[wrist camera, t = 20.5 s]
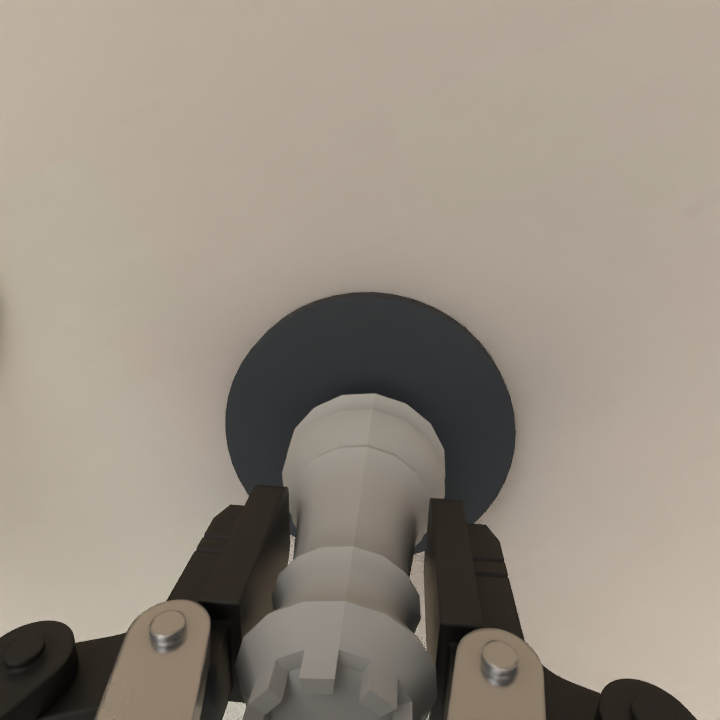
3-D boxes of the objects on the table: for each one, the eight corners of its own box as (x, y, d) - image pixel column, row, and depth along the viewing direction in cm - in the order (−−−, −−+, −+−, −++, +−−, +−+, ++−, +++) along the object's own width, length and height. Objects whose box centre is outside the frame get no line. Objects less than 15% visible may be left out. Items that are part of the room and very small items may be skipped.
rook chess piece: (295, 375, 14) (172, 597, 7) (457, 397, 14) (515, 650, 7) (285, 511, 16) (175, 816, 8) (431, 532, 16) (456, 863, 8)
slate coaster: (224, 284, 16) (215, 290, 15) (529, 299, 15) (536, 305, 14) (239, 533, 19) (232, 548, 18) (493, 554, 18) (497, 570, 17)
